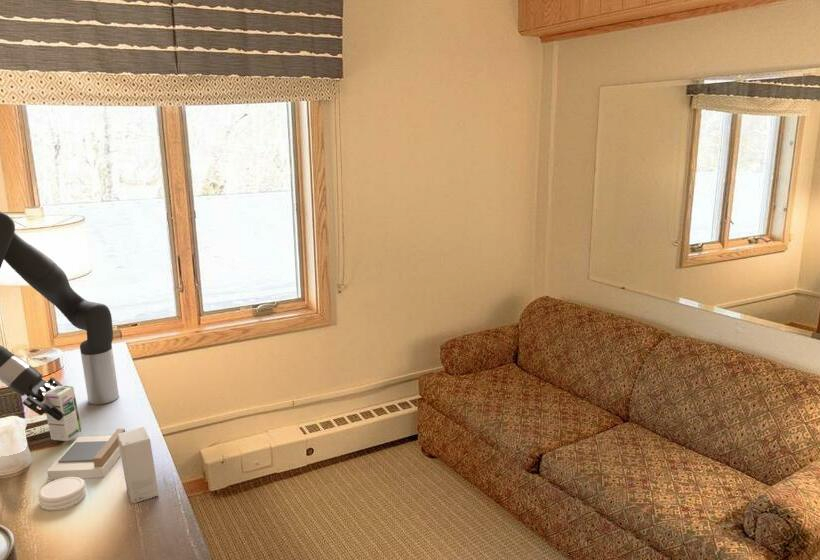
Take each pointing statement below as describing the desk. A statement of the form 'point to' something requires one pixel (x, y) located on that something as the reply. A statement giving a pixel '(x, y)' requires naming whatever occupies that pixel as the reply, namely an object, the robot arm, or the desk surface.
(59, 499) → the coaster
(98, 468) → the display plinth
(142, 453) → the skincare box
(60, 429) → the syrup box
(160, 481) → the desk surface
